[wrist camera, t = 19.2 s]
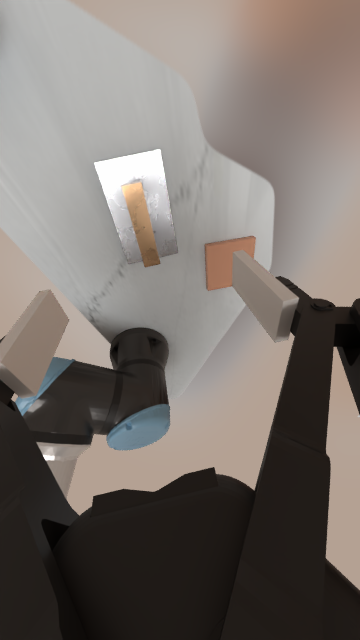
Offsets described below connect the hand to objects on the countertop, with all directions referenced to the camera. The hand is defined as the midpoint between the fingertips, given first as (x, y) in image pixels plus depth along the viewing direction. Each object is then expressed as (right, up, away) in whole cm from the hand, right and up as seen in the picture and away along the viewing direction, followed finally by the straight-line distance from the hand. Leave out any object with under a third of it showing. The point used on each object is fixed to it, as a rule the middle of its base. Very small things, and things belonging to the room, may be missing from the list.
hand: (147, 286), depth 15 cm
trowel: (-4, +16, +21) cm, 27 cm away
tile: (+12, +13, +26) cm, 31 cm away
